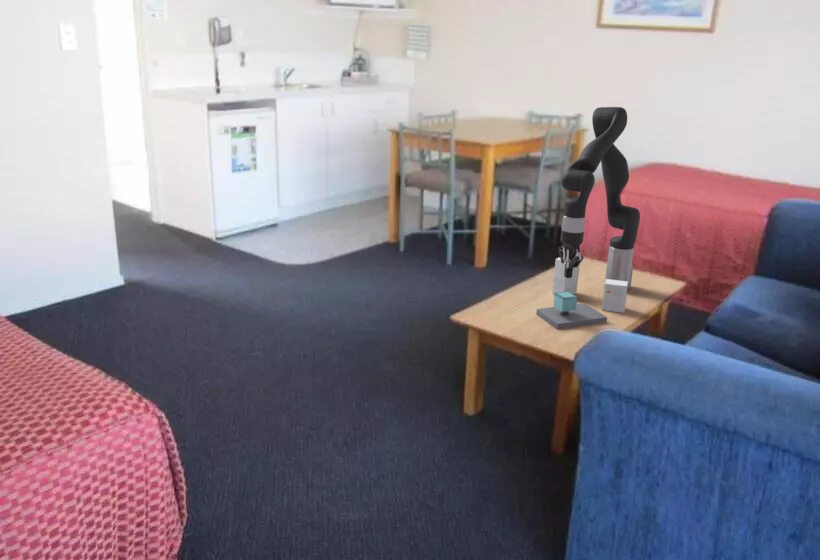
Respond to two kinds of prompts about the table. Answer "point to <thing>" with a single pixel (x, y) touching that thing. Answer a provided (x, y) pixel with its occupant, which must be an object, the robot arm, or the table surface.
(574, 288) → the skincare box
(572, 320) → the board
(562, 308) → the teal cube
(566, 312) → the post
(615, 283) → the small box
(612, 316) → the table surface
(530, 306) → the table surface
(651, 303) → the table surface
